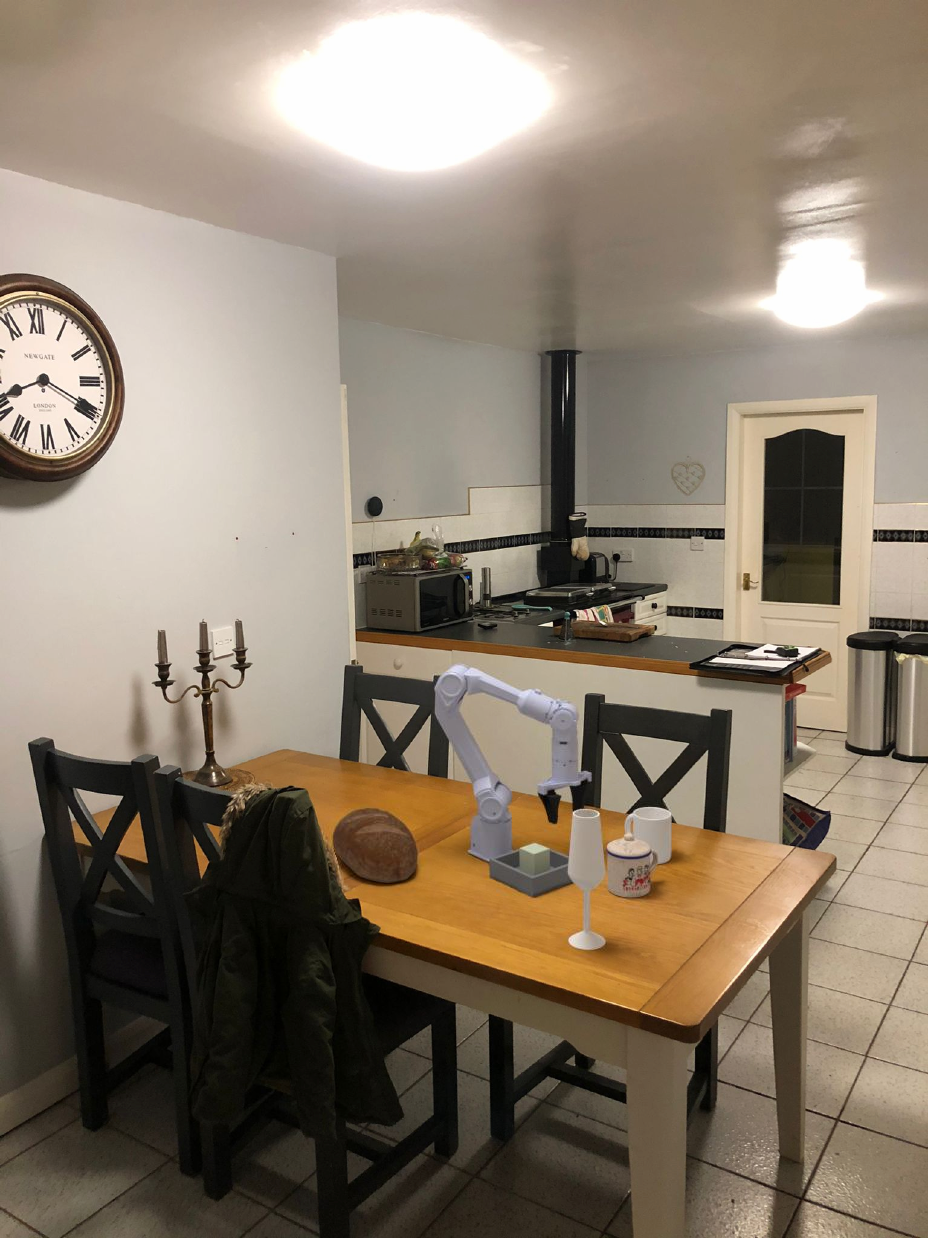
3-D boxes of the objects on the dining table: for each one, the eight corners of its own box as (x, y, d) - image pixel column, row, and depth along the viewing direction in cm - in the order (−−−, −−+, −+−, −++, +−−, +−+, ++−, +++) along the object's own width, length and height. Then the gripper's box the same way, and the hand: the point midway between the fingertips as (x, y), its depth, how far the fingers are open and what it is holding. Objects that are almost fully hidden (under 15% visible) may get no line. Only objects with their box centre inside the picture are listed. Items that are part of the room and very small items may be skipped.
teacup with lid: (625, 902, 188) (625, 846, 187) (597, 886, 196) (597, 832, 195) (671, 889, 194) (672, 834, 193) (642, 874, 202) (642, 821, 200)
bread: (364, 893, 196) (362, 840, 195) (320, 847, 222) (318, 800, 221) (433, 878, 203) (432, 826, 201) (383, 835, 229) (381, 789, 228)
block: (519, 875, 201) (519, 848, 200) (535, 869, 204) (534, 843, 203) (534, 881, 198) (534, 854, 197) (549, 876, 201) (549, 848, 200)
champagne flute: (602, 932, 176) (601, 806, 173) (608, 949, 169) (608, 819, 166) (565, 933, 176) (564, 808, 173) (571, 950, 169) (570, 820, 166)
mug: (613, 852, 214) (612, 808, 213) (638, 843, 219) (638, 800, 218) (653, 868, 205) (653, 822, 204) (679, 858, 210) (679, 813, 208)
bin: (489, 877, 202) (489, 859, 202) (536, 860, 210) (536, 843, 210) (532, 897, 192) (532, 878, 191) (580, 879, 200) (580, 861, 199)
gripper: (553, 769, 200) (554, 831, 202) (601, 756, 209) (601, 815, 211) (530, 762, 206) (531, 822, 207) (578, 749, 214) (578, 808, 216)
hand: (565, 818), depth 209 cm, fingers open, 7 cm apart
